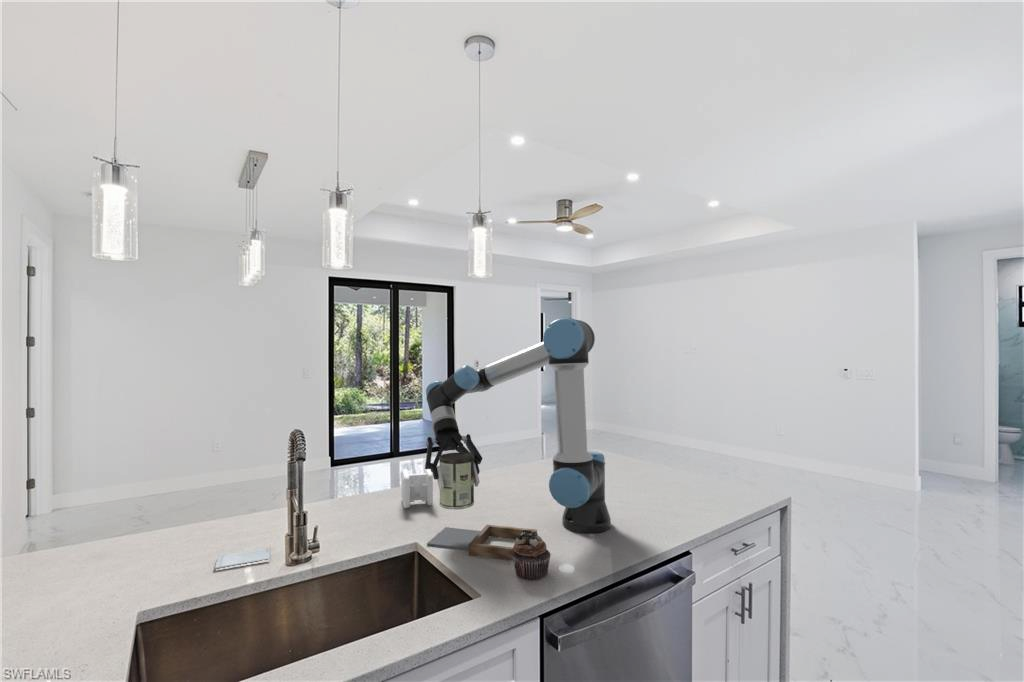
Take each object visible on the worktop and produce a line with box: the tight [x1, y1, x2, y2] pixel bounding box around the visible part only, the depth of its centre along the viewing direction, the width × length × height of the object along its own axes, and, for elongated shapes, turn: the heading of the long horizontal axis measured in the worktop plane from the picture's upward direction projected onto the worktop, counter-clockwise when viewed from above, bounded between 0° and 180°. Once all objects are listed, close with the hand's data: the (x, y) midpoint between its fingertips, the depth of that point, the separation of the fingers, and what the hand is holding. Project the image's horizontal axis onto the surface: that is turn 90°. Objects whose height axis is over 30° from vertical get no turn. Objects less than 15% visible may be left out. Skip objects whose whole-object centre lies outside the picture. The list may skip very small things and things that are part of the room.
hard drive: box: [214, 547, 271, 571], centre depth 128 cm, size 2×8×12 cm
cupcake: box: [512, 530, 551, 581], centre depth 120 cm, size 10×10×10 cm
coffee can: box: [439, 452, 475, 510], centre depth 142 cm, size 10×10×14 cm
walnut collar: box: [467, 524, 538, 562], centre depth 136 cm, size 15×15×3 cm
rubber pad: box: [426, 526, 481, 551], centre depth 142 cm, size 13×13×1 cm
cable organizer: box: [400, 468, 434, 509], centre depth 175 cm, size 15×11×12 cm
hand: (459, 486), depth 139 cm, fingers closed on coffee can, 10 cm apart
